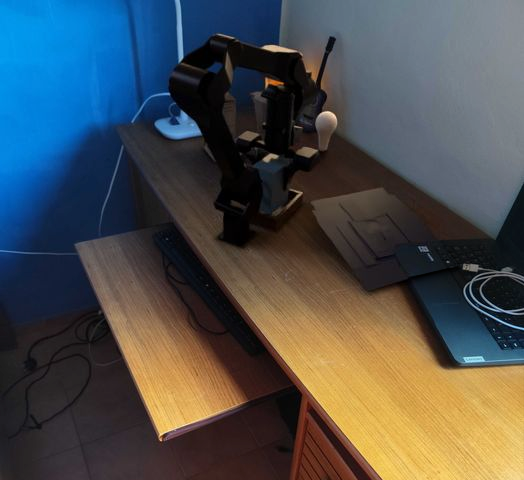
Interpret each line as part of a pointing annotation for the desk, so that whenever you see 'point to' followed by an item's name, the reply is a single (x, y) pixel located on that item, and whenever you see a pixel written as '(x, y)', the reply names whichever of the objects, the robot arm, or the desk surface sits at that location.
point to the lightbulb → (325, 128)
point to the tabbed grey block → (272, 182)
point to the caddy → (279, 212)
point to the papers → (370, 232)
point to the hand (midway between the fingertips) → (274, 187)
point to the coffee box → (227, 118)
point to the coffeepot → (263, 112)
